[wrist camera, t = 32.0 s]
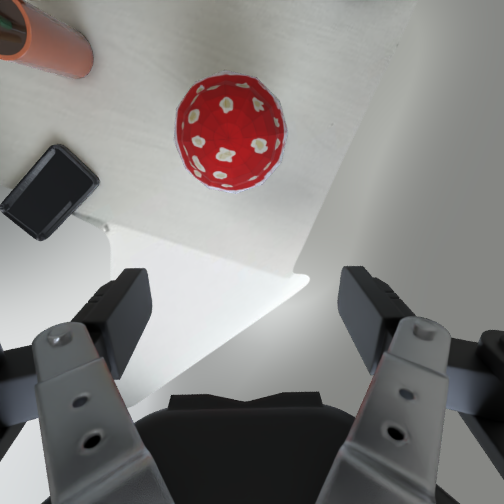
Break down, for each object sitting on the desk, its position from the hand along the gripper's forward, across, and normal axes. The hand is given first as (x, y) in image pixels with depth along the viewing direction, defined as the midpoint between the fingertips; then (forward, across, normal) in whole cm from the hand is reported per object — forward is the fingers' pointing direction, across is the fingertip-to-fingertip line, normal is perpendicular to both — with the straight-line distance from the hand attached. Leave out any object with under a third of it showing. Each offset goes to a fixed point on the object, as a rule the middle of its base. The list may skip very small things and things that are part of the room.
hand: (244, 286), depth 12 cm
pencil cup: (+36, +23, -15) cm, 45 cm away
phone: (+36, +30, +4) cm, 47 cm away
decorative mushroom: (+36, +2, -5) cm, 37 cm away
